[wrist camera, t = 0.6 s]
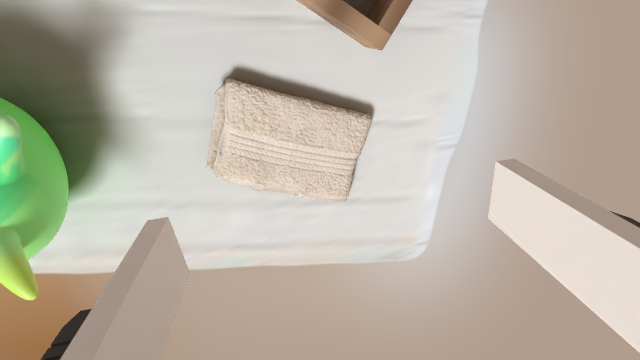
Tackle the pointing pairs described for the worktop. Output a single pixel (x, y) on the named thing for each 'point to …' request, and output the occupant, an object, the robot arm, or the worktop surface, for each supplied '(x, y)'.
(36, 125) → the toy bird
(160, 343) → the robot arm
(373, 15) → the u-shaped wooden frame
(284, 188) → the washcloth
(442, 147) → the worktop surface
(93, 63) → the worktop surface
